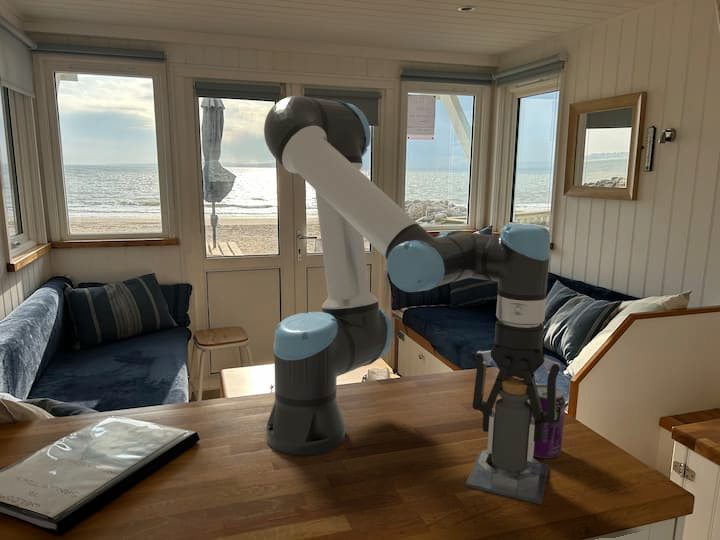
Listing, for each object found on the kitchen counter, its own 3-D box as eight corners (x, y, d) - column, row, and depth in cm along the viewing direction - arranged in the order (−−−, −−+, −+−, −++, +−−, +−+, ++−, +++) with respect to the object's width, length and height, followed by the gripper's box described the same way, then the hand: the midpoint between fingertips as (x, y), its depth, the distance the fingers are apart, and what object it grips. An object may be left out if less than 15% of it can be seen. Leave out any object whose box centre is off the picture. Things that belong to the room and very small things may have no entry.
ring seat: (465, 486, 93) (466, 472, 92) (480, 452, 103) (480, 439, 103) (541, 504, 88) (542, 489, 88) (548, 467, 99) (549, 453, 98)
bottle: (531, 473, 92) (538, 387, 90) (495, 472, 92) (501, 386, 90) (522, 454, 98) (528, 373, 95) (488, 454, 98) (493, 372, 95)
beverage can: (563, 463, 100) (569, 400, 98) (522, 458, 102) (527, 396, 99) (557, 444, 107) (563, 385, 105) (519, 440, 109) (524, 381, 106)
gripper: (456, 319, 91) (450, 451, 95) (581, 335, 84) (568, 477, 88) (467, 309, 98) (460, 432, 102) (583, 322, 90) (570, 454, 95)
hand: (510, 453), depth 95 cm, fingers closed on bottle, 6 cm apart
